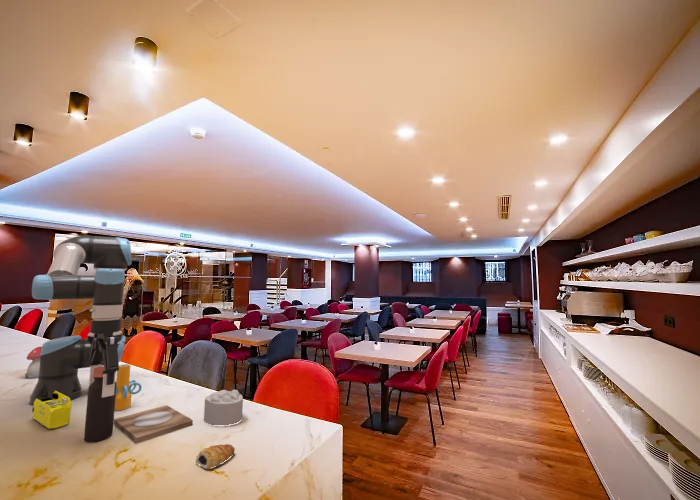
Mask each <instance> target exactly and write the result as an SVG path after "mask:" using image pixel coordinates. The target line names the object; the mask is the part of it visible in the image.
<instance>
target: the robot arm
mask: <svg viewBox="0 0 700 500" xmlns="http://www.w3.org/2000/svg"><path fill="white" fill-rule="evenodd" d="M52 256H53V260H52V263H51V265H50V267H49V269H48V271H47V273H46V274H38V275H35V276H34V277H33V280H32V284H31V285H32V286H31V296H32V298H33V299H35V300H47V301H50V300H51V301H52V300H53V301H54V300H55V301H56V300H90V299H91V300H92V308H90V309H89V312H90V313H91V319H93V320H91V321H90V327H89V328H90V329H89V333H88V334H87V338H82V336H81V335H78V334H77V335H70V336H63V337H59V338H58V337H57V338H53V339H50V340H47V341H45V342H43V344H42V345H41V347H42V349H41V354H40V356H41V358H40V368H39V377H38V379H37V382H36V384H35V387H34V388H33V391H32V392H31V395H30V398H29V404H30V405H32V406H34V401H35V400H36V399H38V400H41V399H45V398H52V395H53V393H54V392H55V391H57V392H59V393H61V394H63V395H65V396H67V397H69V398H70V401H72V400H74V399H75V400H76V399H77V398H79V397H81V396H82V391H83V388H82V384H81V382H80V378H79V376H78V373H79V369H87V368H88V369H89V368H90V369H89V378H88V379H89V380H88V387H89V386H90V385H91V384H92V383H93V382H94V378H93V374H94V369H95V368H97V367H102V366H104V367H105V371H103V372H102V374H104V375H103V388H102V398H103V397H107V396H112V395H114V388H115V382H116V375H117V371H118V370H119V365H120V364H119V363H120V362H121V360H122V357H123V354H124V351H125V344H126V336H125V335H123V332H122V330H121V329H122V319H121V318H122V317H123V310H124V309H123V307H124V306H123V303H124V302H123V300H124V299H123V298H124V291H125V281H126V279H125V278H126V275H125V274H126V273H125V271H127V270H128V266H131V265H132V249H131V242H130V240H129V239H127V238H123V237H117V236H114V237H113V236H101V235H99V236H98V235H86V234H85V235H78V236H73V237H70V238H68V239H64V240H63V241H61V242H60V243H58V244H57V245H56V246H55V248H54V249H53V252H52ZM81 264H88V265H89V264H90V265H93V270H94V272H95V274H94V275H83V274H82V275H78V274H79V272H80V271H79V270H80V267H81ZM56 394H57V393H56Z"/></svg>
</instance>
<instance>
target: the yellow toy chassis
mask: <svg viewBox="0 0 700 500" xmlns="http://www.w3.org/2000/svg"><path fill="white" fill-rule="evenodd" d="M56 393H57V394H56ZM32 406H33V407H32V415H31V416H32V418H33V419H34V420H36V421H37V423H38V424H40V425H41V426H44V427H46V428H47V429H49V430H51V429H55V428H59V427H64V426H66V425H67V424H70V421H71V413H72V412H71V409H72V400H70V398H69V397H67V396H65V395H63V394H61V393H59V392H57V391H55V392H54V393H53V395H52V398H45V399H41V400H38V399H36V400H35V401H34V405H32Z"/></svg>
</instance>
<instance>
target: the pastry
mask: <svg viewBox="0 0 700 500" xmlns="http://www.w3.org/2000/svg"><path fill="white" fill-rule="evenodd" d="M234 451H235V447H234V446H233V445H232V444H229V443H227V444H217V445H210V446H209V447H206V448H205V447H204V448H203V450H201V451H199V452H198V454H197V456H196V458H195V462H196V464H197V463H198V464H200V465H202V466H203V467H202V468H203V469H205V468H211V467H214V466H217V465H219V464H220V463H222V462H224V461H225V460H227V459H228V458H229V457H230V456H232V455H233V454H234ZM235 452H236V451H235ZM234 455H235V454H234ZM198 464H197V465H198ZM219 466H220V465H219Z"/></svg>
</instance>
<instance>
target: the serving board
mask: <svg viewBox="0 0 700 500" xmlns="http://www.w3.org/2000/svg"><path fill="white" fill-rule="evenodd" d="M193 421H194V420H193V419H192V418H190V417H188V416H186V415H184V414H183V413H181V412H180V411H178V410H176V409H174V408H172V407H171V406H169V405H167V404H165V405H162V406H158V407H155V408H151V409H147V410H143V411H139V412H135V413H132V414H128V415H124V416H120V417H117V418H116V417H115V418H114V424H113V426H115V427H117V428H118V430H120V431H121V432H122V433H124V435H126V436H127V437H128V438H129V439H130V440H131V441H133V442H134V443H135V444H139V443H142V442H145V441H148V440H151V439H153V438H157V437H160V436H163V435H167V434H169V433H172V432H176V431H178V430H181V429H185V428H187V427H190V426H193V424H194V423H193Z"/></svg>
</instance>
